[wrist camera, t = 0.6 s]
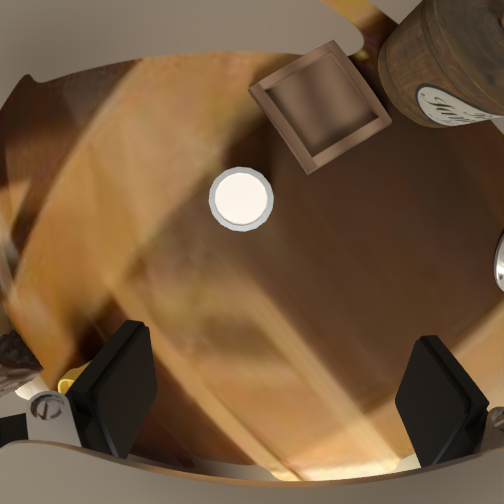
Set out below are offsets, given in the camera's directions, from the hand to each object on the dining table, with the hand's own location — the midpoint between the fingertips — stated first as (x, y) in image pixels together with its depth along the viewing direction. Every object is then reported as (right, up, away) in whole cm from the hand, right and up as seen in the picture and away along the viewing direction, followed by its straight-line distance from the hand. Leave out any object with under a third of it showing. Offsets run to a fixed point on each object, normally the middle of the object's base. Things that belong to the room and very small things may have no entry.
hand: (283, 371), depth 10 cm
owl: (-54, -21, +43) cm, 72 cm away
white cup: (-2, +11, +29) cm, 31 cm away
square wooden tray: (+7, +22, +25) cm, 34 cm away
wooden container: (+23, +28, +22) cm, 42 cm away
